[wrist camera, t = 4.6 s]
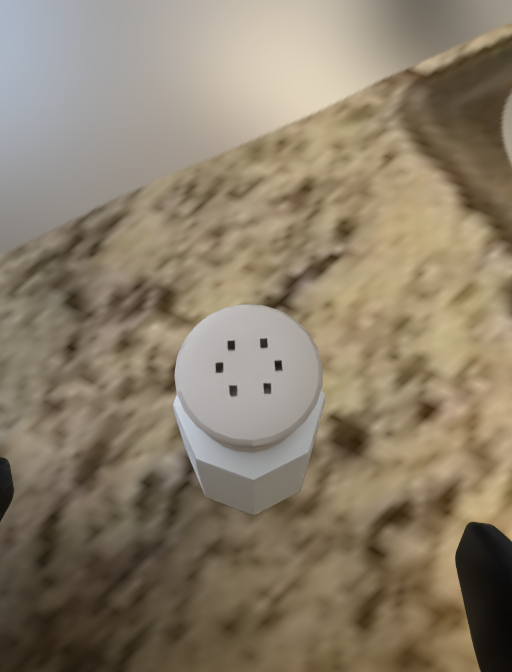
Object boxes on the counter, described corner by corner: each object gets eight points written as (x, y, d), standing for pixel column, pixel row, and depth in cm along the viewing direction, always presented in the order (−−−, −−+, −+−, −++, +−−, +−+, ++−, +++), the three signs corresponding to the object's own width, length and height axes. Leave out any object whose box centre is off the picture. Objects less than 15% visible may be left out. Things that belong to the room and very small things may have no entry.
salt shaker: (307, 381, 19) (371, 237, 9) (321, 511, 17) (423, 516, 7) (186, 387, 19) (111, 248, 9) (186, 519, 17) (86, 539, 7)
